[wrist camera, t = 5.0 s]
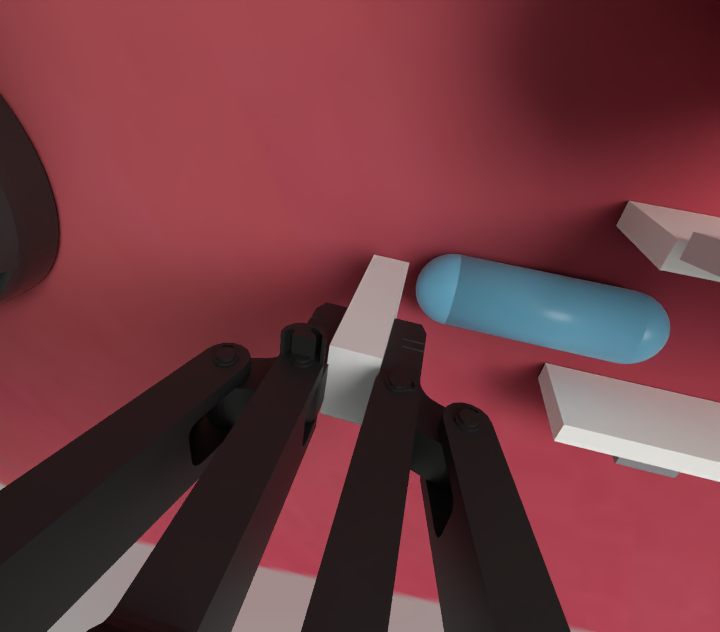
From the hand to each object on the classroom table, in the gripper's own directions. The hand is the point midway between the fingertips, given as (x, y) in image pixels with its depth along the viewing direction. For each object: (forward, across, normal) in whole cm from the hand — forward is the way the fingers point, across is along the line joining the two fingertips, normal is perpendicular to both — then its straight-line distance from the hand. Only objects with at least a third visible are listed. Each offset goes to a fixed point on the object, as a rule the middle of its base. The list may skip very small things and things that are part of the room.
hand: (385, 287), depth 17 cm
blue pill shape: (+2, +6, 0) cm, 7 cm away
